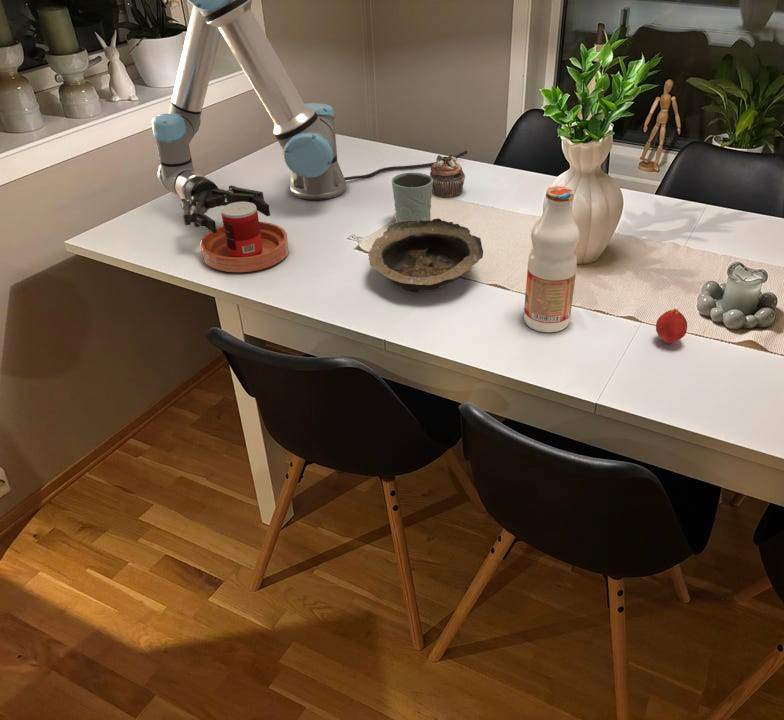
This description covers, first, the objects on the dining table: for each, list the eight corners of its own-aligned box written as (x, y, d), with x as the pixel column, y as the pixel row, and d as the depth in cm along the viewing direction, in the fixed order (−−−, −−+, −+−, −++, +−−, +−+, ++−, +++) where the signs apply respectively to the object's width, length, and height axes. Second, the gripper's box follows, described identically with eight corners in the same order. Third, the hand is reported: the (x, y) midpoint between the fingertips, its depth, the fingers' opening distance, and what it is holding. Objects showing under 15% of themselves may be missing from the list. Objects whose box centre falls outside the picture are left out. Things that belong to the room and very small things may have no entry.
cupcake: (434, 200, 198) (434, 164, 192) (427, 186, 205) (426, 152, 200) (468, 197, 200) (469, 161, 194) (460, 184, 207) (460, 149, 202)
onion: (648, 334, 145) (656, 300, 140) (677, 333, 146) (685, 299, 141) (658, 351, 140) (665, 316, 136) (687, 350, 141) (695, 315, 136)
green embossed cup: (401, 236, 180) (400, 189, 173) (387, 220, 187) (385, 175, 180) (439, 229, 183) (439, 183, 176) (423, 213, 191) (423, 169, 184)
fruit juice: (542, 338, 144) (556, 205, 127) (514, 316, 150) (523, 187, 134) (579, 325, 148) (597, 194, 131) (550, 304, 154) (563, 177, 138)
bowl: (287, 233, 180) (285, 218, 178) (290, 270, 165) (288, 254, 163) (206, 239, 177) (203, 224, 175) (201, 278, 161) (198, 262, 159)
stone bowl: (468, 247, 175) (470, 212, 169) (490, 307, 156) (493, 271, 150) (364, 252, 171) (363, 217, 165) (374, 315, 152) (373, 278, 146)
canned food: (269, 247, 173) (262, 204, 166) (251, 262, 166) (243, 217, 160) (241, 242, 175) (233, 199, 168) (222, 257, 168) (213, 212, 162)
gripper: (245, 192, 187) (290, 218, 175) (152, 219, 174) (193, 250, 161) (241, 164, 183) (287, 189, 170) (145, 189, 169) (187, 218, 157)
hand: (242, 218), depth 166 cm, fingers open, 13 cm apart
